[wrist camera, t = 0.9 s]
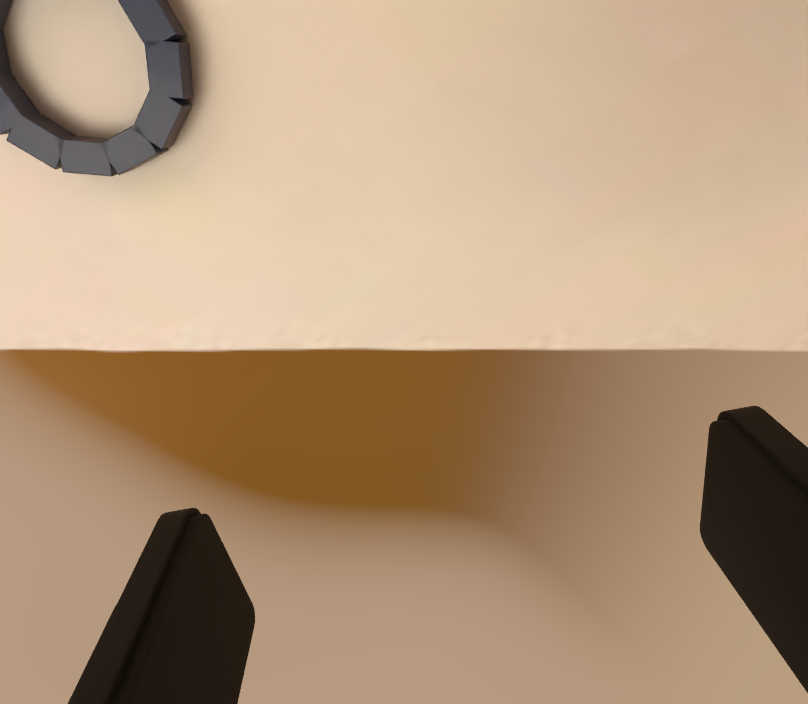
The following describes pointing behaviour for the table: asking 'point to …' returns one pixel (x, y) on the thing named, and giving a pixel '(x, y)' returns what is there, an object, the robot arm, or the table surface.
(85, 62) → the table surface
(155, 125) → the navy ring
